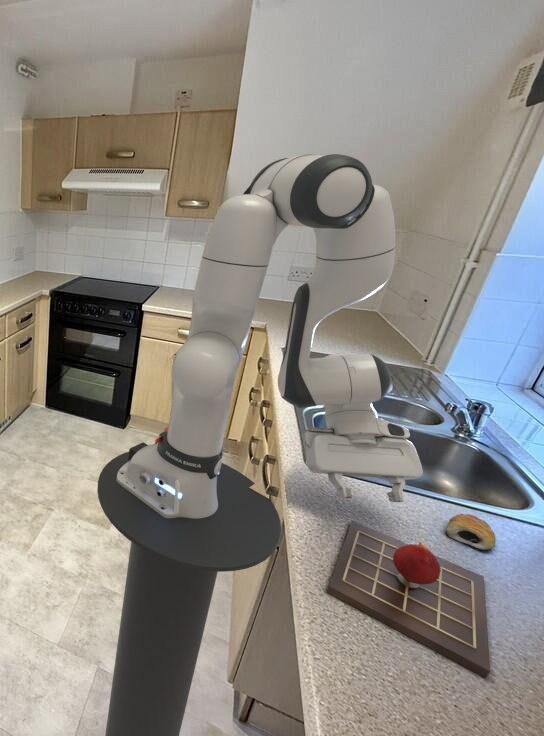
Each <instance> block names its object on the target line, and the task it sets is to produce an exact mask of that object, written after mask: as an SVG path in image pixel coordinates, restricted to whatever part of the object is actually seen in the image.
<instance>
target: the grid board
mask: <svg viewBox="0 0 544 736" xmlns="http://www.w3.org/2000/svg"><path fill="white" fill-rule="evenodd" d="M408 544H409V543H406V542H404V541H402V540H399V539H398V538H396V537H392V536H390V535H388V534H386V533H383V532H381V531H379V530H376V529H375V528H371V527H370V526H367V525H365V524H362V523H360V522H357V521H356V520H353V519H352V520H351V522H350V524H349V527H348V529H347V533H346V535H345V538H344V542H343V545H342V547H341V551H340V553H339V556H338V559H337V562H336V565H335V567H334V570H333V574H332V576H331V580H330V583H329V585H328V588H327V590H326V592H327V594H329V595H331V596H333V597H334V598H337V599H338V600H340V601H342V602H344V603H346V604H349V605H350V606H351V607H353V608H355V609H357V610H359V611H360V612H363V613H364V614H366V615H368V616H370V617H372V618H374V619H376V620H377V621H379V622H381V623H382V624H384V625H387V626H389V627H390V628H392V629H394V630H396V631H398V632H399V633H402V634H403V635H405V636H407V637H409V638H410V639H413V640H415V641H417V642H418V643H420V644H422V645H424V646H425V647H427V648H429V649H431V650H433V651H435V652H437V653H438V654H441V655H442V656H444V657H446V658H448V659H449V660H452V661H453V662H455V663H457V664H459V665H461V666H463V667H465V668H466V669H468V670H470V671H472V672H473V673H475V674H478V675H479V676H481V677H482V678H485V679H487V678H488V675H489V674H490V673H491V664H490V647H489V634H488V620H487V605H486V590H485V577H484V575H481V574H479V573H477V572H474V571H472V570H470V569H468V568H465V567H463V566H461V565H458V564H456V563H453V562H451V561H448V560H447V559H445V558H442V557H439V556H437V555H435V554H434V556H435V558H436V559H437V561H438V562H439V565H440V568H441V572H440V576H439V577H438V579H437V580H436V581H435V582H434V583H431V584H416V583H412V582H409V581H407V580H406V579H405V578H404V577H403V576H402V575H401V574H400V573H399V572H398V570H397V569H396V567H395V565H394V561H393V556H394V553H395V552H396V550H397V549H398V548H399V547H401V546H404V545H408Z"/></svg>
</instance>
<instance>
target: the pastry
mask: <svg viewBox="0 0 544 736" xmlns="http://www.w3.org/2000/svg"><path fill="white" fill-rule="evenodd" d="M445 532H446V534H447V536H448V537H449V538H451V539H453V540H456V541H458V542H460V543H462V544H466V545H469V546H471V547H474V548H476V549H479V550H486V551H487V550H490V549H493V548H495V546H496V540H497V538H496V534H495V532H494V530H492V528H491V526H490V525H489V524H488V522H487V521H485V520H482V519H481V518H479V517H478V516H475V515H474V514H469V513H465V514H464V513H460V514H459V513H458V514H456V515H454V516H452V517H451V518H450V519H449V520H448V523H447V526H446V528H445Z"/></svg>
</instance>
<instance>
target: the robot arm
mask: <svg viewBox="0 0 544 736" xmlns="http://www.w3.org/2000/svg"><path fill="white" fill-rule="evenodd" d="M392 203H393V202H392V200H391V196H390V193H389V191H388V190H387V189H386V188H384V187H383V186H381V185H378V184H374V183H373V180H372V176H371V173H370V172H369V169H368V168H367V166H366V165H365V164H364V163H363V162H362V161H360V160H359V159H357V158H355V157H352V156H350V155H346V154H341V153H340V154H339V153H331V154H315V153H313V154H312V153H307V154H301V155H295V156H292V157H283V158H280V159H277V160H274V161H273V162H270V163H269V164H267V165H266V166H264V167H263V168H262V169H261V170H260V171H258V173H257V174H256V175H255V176H254V178H253V179H252V181H251V183H250V185H249V186H248V187H247V188H246V190H245V191H243V194H238V195H235V196H232V197H230V198H228V199H226V200H225V201H224V202H223V203H221V205H220V206H219V208H218V210H217V212H216V214H215V217H214V219H213V221H212V223H211V226H210V228H209V231H208V234H207V237H206V241H205V244H204V246H203V247H204V248H203V251H202V256H201V260H200V264H199V269H198V273H197V276H196V281H195V286H194V290H193V295H192V308H191V318H190V325H189V330H188V334H187V337H186V339H185V341H184V343H183V344H182V345H181V347H180V348H179V349H178V350H177V351H176V353H175V354H174V357H173V359H172V360H173V361H172V365H171V373H170V374H171V376H170V377H171V406H170V408H171V409H170V413H169V414H170V415H169V419H168V420H169V421H168V426H167V427H165V428H164V429H163V430H164V431H162V432H161V433H159V434H158V436H157V437H156V438H155V440H154V443H152V444H147V443H146V442H140V443H138V444H136V445H133V446H132V447H129V450H128V452H129V457H128V459H129V460H130V461H129V462H127V463H126V464H124V465H123V466H122V467H121V468H120V470H119V471H118V474H117V478H116V481H117V483H119V484H120V485H121V486H123V487H124V488H125V489H127V490H128V491H129V492H131V493H132V494H133V495H135V496H136V497H137V498H139V499H140V500H141V501H143V502H144V503H145V504H147V505H148V506H149V507H151V508H152V509H153V510H155V511H156V512H157V513H159V514H160V515H161V516H163V517H165V518H177V517H184V518H193V519H198V518H205V517H208V516H211V515H212V514H214V513H215V512H216V510H217V508H218V500H217V475H218V474H219V471H220V468H221V463H223V456H224V446H223V444H224V439H225V434H226V430H227V425H228V420H229V413H230V407H231V400H232V394H233V390H234V384H235V380H236V376H237V374H238V370H239V367H240V364H241V362H242V358H243V356H244V352H245V349H246V346H247V342H248V338H249V335H250V330H251V327H252V323H253V320H254V316H255V314H256V309H257V305H258V302H259V299H260V295H261V291H262V289H263V286H264V285H263V284H264V281H265V278H266V275H267V271H268V268H269V264H270V261H271V257H272V253H273V247H274V246H275V244H276V241H277V239H278V237H279V236H280V235H281V233H282V232H283V231H284V230H285V229H286V228H287V227H288V226H294V227H308V228H312V230H313V232H314V234H315V238H316V241H315V264H314V268H313V271H312V272H311V275H310V276H309V278H308V279H307V281H306V282H304V283H303V284H302V285H300V286H299V287H298V288H297V289H296V292H295V294H294V298H293V301H292V305H291V310H290V316H289V321H288V327H287V332H286V339H285V346H284V351H283V357H282V360H281V364H280V368H279V373H278V375H277V388H278V392H279V394H280V397H281V398H282V399H283V400H284V401H285V402H287V403H288V404H290V405H292V406H293V407H296V408H297V409H303V408H311V407H317V406H324V410H325V411H324V419H325V425H326V427H314V426H311V427H308V428H307V429H305V430H304V431H303V434H302V437H303V443H304V444H305V462H306V467H307V469H308V470H309V471H310V472H311V473H312V474H322V475H327V478H328V481H329V482H330V483H331V484H332V486H333V487H334V488H335V489H336V491H337V494H338V498H339V499H352V498H353V494H352V489H351V488H350V487H346V486H345V484H344V483H343V481H342V480H341V479H343V476H349V477H362V478H363V477H364V478H365V477H366V478H378V479H388V482H389V485H392V487H391V491H389V492H388V491H387V492H386V495H387V497H388V501H389V502H390V503H403V502H404V496H403V492H404V491H403V490H404V488H405V486H406V481H408V480H409V481H410V480H416V479H420V478H421V477H422V476H423V474H424V470H423V465H422V462H421V459H420V456H419V454H418V451H417V449H416V447H415V445H414V444H413V443H412V442H411V441H410V440H408V438H410V437H411V434H410V430H409V429H408V428H407V427H405V426H402V425H399V424H396V423H393V422H391V421H388V420H386V419H383V418H382V417H378V414H377V411H376V409H375V408H374V406H373V403H374V402H380V401H381V400H382V399H384V398H385V397H386V396H387V395H388V394H389V393H390V392H391V391H392V390H393V380H392V377H391V373H390V370H389V366H388V364H387V363H386V362H385V361H384V360H383V359H381V358H380V357H378V356H376V355H375V354H372V353H355V354H352V353H349V352H337V353H336V352H335V353H332V354H328V355H326V356H324V357H316V358H315V357H314V358H311V357H310V356H311V351H312V346H313V342H314V336H315V331H316V329H317V326H318V325H319V324H320V323H321V322H322V321H323V320H324V319H326V318H327V317H328V316H330V315H331V314H334V313H336V312H338V311H340V310H342V309H344V308H346V307H349V306H351V305H354V304H357V303H359V302H361V301H364V300H365V299H367V298H369V297H371V296H373V295H374V294H375V293H377V292H378V291H379V290H381V289H382V288H383V287H384V286H385V285H386V284H387V282H388V281H389V280H390V278H391V277H392V274H393V271H394V267H395V261H396V260H395V259H396V223H395V215H394V214H395V213H394V209H393V204H392ZM405 480H406V481H405Z"/></svg>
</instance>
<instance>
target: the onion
mask: <svg viewBox="0 0 544 736" xmlns="http://www.w3.org/2000/svg"><path fill="white" fill-rule="evenodd" d="M407 544H408V545H404V546H401V547H399V548H398V549H397V550H396V552H395V553H394V556H393V561H394V565H395V567H396V569H397V570H398V572H399V573H400V574H401V575H402V576H403V577H404V578H405V579H406V580H407V581H409V582H412V583H416V584H431V583H434V582H435V581H436V580H437V579H438V577H439V576H440V572H441V568H440V565H439V562H438V561H437V559H436V558H435V556H436V555H435V554H434V553H433V552H432V551H431V550H430V549H429V548H428V547H427V545H426V543H424V542H422V541H420V542H419V543H418V544H414V543H410V544H409V543H407ZM434 555H435V556H434Z"/></svg>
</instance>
